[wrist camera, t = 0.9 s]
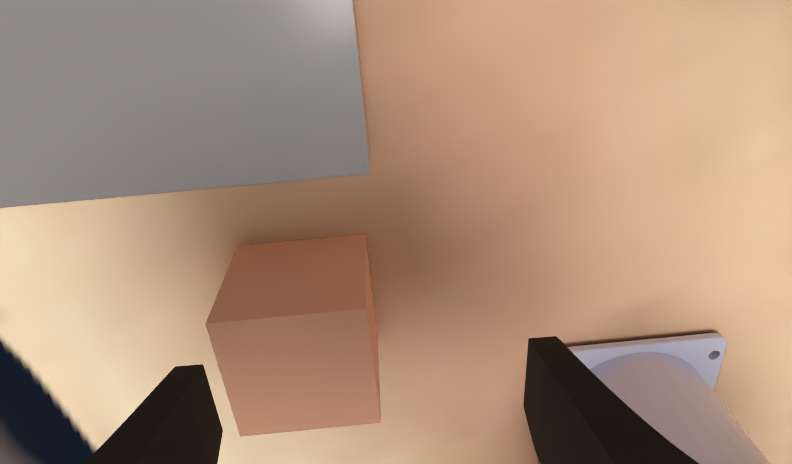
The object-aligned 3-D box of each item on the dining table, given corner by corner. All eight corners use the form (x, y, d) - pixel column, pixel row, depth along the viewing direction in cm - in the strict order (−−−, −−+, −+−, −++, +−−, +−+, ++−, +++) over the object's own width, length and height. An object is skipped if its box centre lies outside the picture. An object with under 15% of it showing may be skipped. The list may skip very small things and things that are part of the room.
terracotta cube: (377, 332, 23) (381, 422, 19) (263, 343, 23) (240, 436, 19) (365, 232, 21) (366, 308, 17) (238, 244, 21) (205, 323, 17)
